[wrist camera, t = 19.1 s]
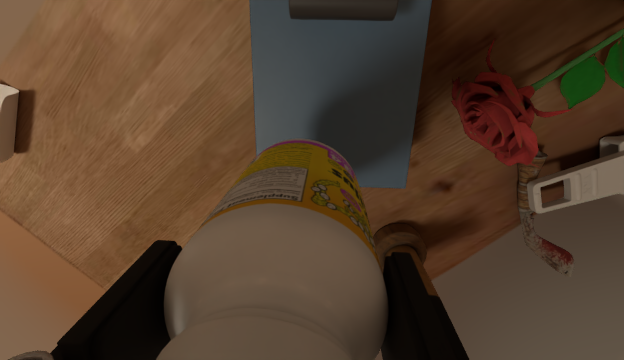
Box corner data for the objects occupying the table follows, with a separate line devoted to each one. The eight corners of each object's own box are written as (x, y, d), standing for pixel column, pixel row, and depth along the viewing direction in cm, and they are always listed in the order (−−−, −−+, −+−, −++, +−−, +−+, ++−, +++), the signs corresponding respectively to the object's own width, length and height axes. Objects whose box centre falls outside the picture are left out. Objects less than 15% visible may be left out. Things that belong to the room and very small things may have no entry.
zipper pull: (510, 157, 33) (538, 168, 29) (685, 104, 31) (742, 107, 27) (518, 219, 35) (545, 237, 31) (681, 172, 33) (733, 185, 29)
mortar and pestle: (420, 265, 39) (494, 414, 22) (371, 268, 39) (405, 416, 23) (421, 220, 37) (504, 348, 20) (369, 224, 37) (406, 352, 20)
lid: (250, -25, 21) (224, -59, 15) (431, -23, 20) (470, -57, 15) (259, 180, 26) (242, 209, 21) (403, 185, 26) (424, 215, 20)
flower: (920, -17, 21) (554, 207, 22) (695, 24, 32) (459, 172, 33) (930, -227, 18) (495, 51, 19) (674, -98, 29) (411, 70, 30)
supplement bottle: (365, 230, 18) (439, 546, 6) (262, 246, 19) (152, 554, 7) (348, 123, 16) (413, 302, 4) (231, 146, 17) (-10, 354, 5)
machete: (586, 281, 38) (547, 297, 38) (568, 267, 40) (532, 283, 41) (557, 144, 30) (510, 167, 31) (537, 137, 32) (493, 159, 33)
